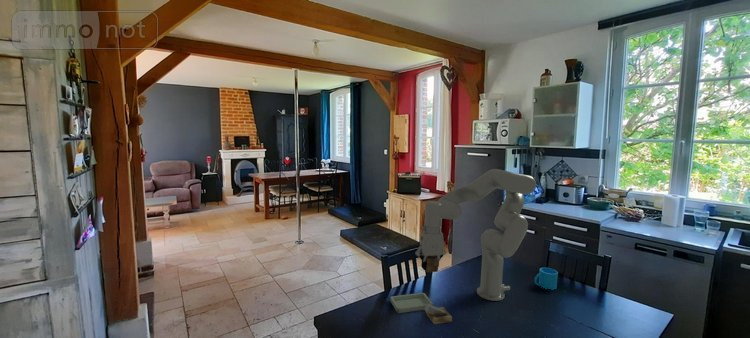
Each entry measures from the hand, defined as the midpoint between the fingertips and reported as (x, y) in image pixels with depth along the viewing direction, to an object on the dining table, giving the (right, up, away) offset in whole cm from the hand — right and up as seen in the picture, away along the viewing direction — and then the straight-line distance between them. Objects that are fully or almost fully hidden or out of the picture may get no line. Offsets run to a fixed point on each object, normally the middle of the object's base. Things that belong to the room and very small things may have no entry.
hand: (429, 268), depth 142 cm
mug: (+62, -15, +19) cm, 66 cm away
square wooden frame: (+2, -17, -10) cm, 20 cm away
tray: (-8, -16, 0) cm, 18 cm away
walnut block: (0, -1, 0) cm, 1 cm away
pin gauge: (+4, -16, -10) cm, 19 cm away
